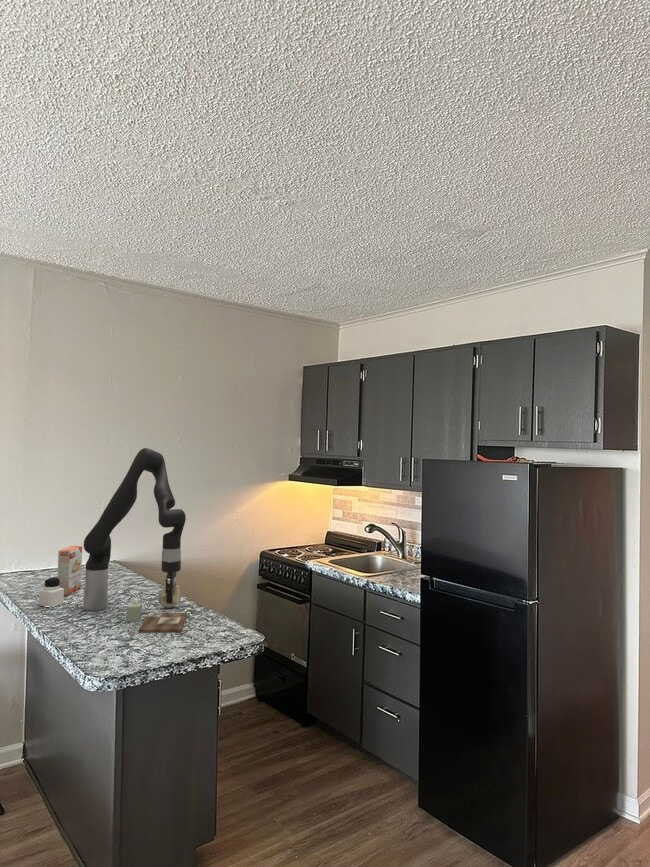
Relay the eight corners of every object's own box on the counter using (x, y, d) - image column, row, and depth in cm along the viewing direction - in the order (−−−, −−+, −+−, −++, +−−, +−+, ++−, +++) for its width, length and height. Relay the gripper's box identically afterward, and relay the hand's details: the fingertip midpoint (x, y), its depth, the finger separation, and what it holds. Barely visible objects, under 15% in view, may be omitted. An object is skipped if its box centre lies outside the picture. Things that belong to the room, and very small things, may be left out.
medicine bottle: (63, 604, 270) (64, 577, 270) (51, 608, 263) (52, 580, 264) (50, 602, 273) (51, 575, 273) (38, 606, 266) (39, 578, 266)
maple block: (161, 604, 244) (162, 589, 244) (163, 600, 249) (164, 585, 250) (177, 604, 244) (177, 589, 244) (178, 600, 250) (179, 585, 250)
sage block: (126, 621, 248) (126, 606, 248) (128, 618, 253) (129, 603, 253) (138, 621, 249) (139, 606, 249) (141, 618, 254) (141, 603, 254)
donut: (158, 610, 265) (159, 587, 265) (156, 608, 268) (157, 585, 268) (181, 607, 270) (182, 584, 270) (179, 605, 273) (180, 583, 273)
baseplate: (138, 632, 234) (138, 629, 235) (148, 615, 256) (148, 612, 256) (181, 632, 236) (181, 628, 236) (187, 615, 258) (187, 612, 258)
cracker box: (69, 596, 284) (70, 550, 284) (56, 595, 284) (57, 550, 284) (81, 588, 298) (82, 545, 298) (69, 588, 298) (70, 545, 298)
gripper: (164, 555, 254) (163, 596, 254) (159, 562, 239) (158, 606, 239) (182, 555, 255) (181, 596, 254) (178, 562, 240) (177, 605, 240)
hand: (170, 600), depth 247 cm, fingers closed on maple block, 6 cm apart
